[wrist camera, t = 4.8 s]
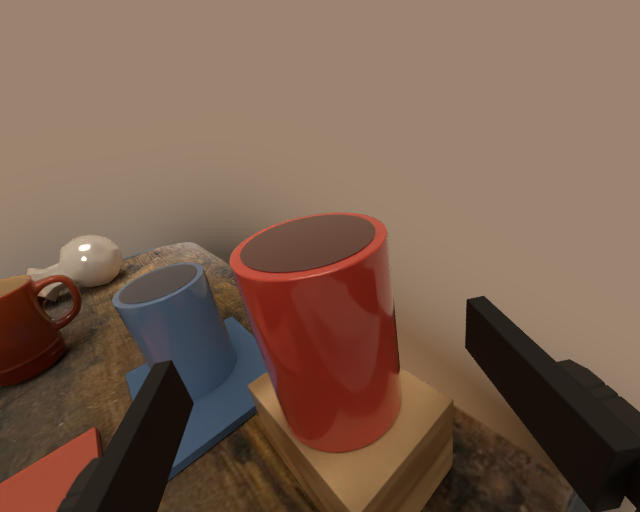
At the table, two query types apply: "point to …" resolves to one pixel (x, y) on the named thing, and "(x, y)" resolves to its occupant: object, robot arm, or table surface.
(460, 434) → the table surface
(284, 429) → the wooden block
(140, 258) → the table surface
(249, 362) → the blue mat
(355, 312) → the red cup
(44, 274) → the potion bottle
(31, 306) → the mug
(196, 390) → the blue cup
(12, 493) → the red mat
